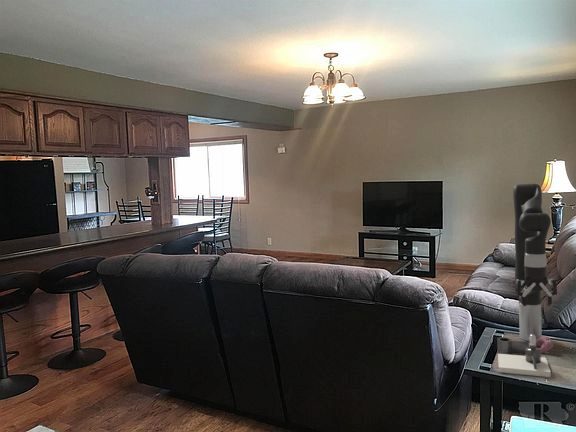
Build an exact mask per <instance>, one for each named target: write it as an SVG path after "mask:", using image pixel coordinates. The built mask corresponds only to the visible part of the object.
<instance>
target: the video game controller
mask: <svg viewBox="0 0 576 432" xmlns="http://www.w3.org/2000/svg"><path fill="white" fill-rule="evenodd" d="M536 347H540V348H539V349H541V354H545V353H547V352H549V351H550V350H552V349H553V348H554V343H553V340H552V338H550V337H549V336H547V335H541V337H540V338H539V339H538V340H536Z"/></svg>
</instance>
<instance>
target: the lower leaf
mask: <svg viewBox="0 0 576 432" xmlns="http://www.w3.org/2000/svg"><path fill="white" fill-rule="evenodd" d="M524 356H526V361H527V362H529V363H533V366H534V369H537V365H536V364H538V363H541V357H542V353H541V349H540V348H539V347H538V346H536V336H535V335H534V334H531V335H530V341H529V347H526V348H525V354H524Z"/></svg>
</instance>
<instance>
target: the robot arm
mask: <svg viewBox="0 0 576 432" xmlns="http://www.w3.org/2000/svg"><path fill="white" fill-rule="evenodd" d="M542 191H543V190H542V187H541V185H539V184H538V183H524V184H523V183H522V184H520V183H519V184H515V185H514V186H513V193H512V199H513V209H514V211H513V212H514V248H515V267H514V283H515V294H516V295H517V296H519V297H518V319H519V320H518V321H519V327H518V328H519V338H520V339H521V340H522V341H526V342H530V335H531V334H534V335H535V336H536V340H538V339H539V338H540V337H541V336H542V301H541V300H542V299H541V298H542V297H541V294H542V291H543V292H544V293H545V294H546V295H545V304H546V306H547V307H550V306H551V305H552V302H553V299H552V297H553V296H555V295H556V296H557V295H558V288H557V287H558V286H557V285H558V284H557V279H554V278H553V277H552V278H550V279H549V278H547V277H548V273H547V269H548V267H547V264H548V262H547V254H546V246H547V245H546V241H547V236H548V232H549V230H550V227H551V221H552V220H551V217H550V216H549V214H548V213H544V212H543V208H542V204H543V192H542ZM538 232H539V233H538ZM548 284H549V285H550V290H549V289H548V288H547V287H546V286H547V285H548Z"/></svg>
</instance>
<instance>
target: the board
mask: <svg viewBox="0 0 576 432" xmlns="http://www.w3.org/2000/svg"><path fill="white" fill-rule="evenodd" d="M497 363H498V372H499V373H505V374H515V375H525V376H537V377H543V378H544V377H546V378H551V377H552V376H551V375H552V373H551V370H550V365H549V364H548V363H549V362H548V361H547V358H546V357H543V356H541V363H538V364H536V365H537V369H534V366H533V363H529V362H527V361H526V355H522V354H512V355H509V354H499V353H497Z"/></svg>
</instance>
